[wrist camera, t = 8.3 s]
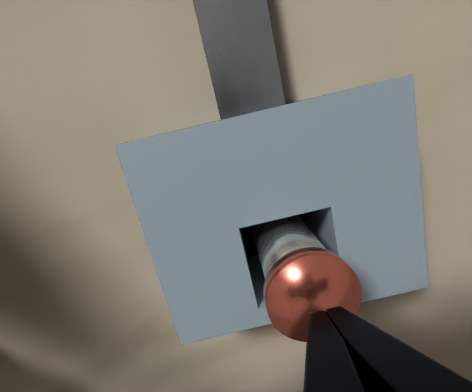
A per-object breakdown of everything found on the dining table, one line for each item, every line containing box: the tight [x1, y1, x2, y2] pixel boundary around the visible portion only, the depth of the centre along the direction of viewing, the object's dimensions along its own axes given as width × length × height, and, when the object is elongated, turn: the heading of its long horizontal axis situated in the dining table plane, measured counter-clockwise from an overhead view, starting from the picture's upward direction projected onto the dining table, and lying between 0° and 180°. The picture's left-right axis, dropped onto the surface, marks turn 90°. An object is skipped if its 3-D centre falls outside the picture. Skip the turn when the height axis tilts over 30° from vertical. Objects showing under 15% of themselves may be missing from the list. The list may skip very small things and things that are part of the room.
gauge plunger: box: [254, 215, 362, 342], centre depth 11 cm, size 3×3×5 cm
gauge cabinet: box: [115, 75, 429, 345], centre depth 13 cm, size 8×10×4 cm
